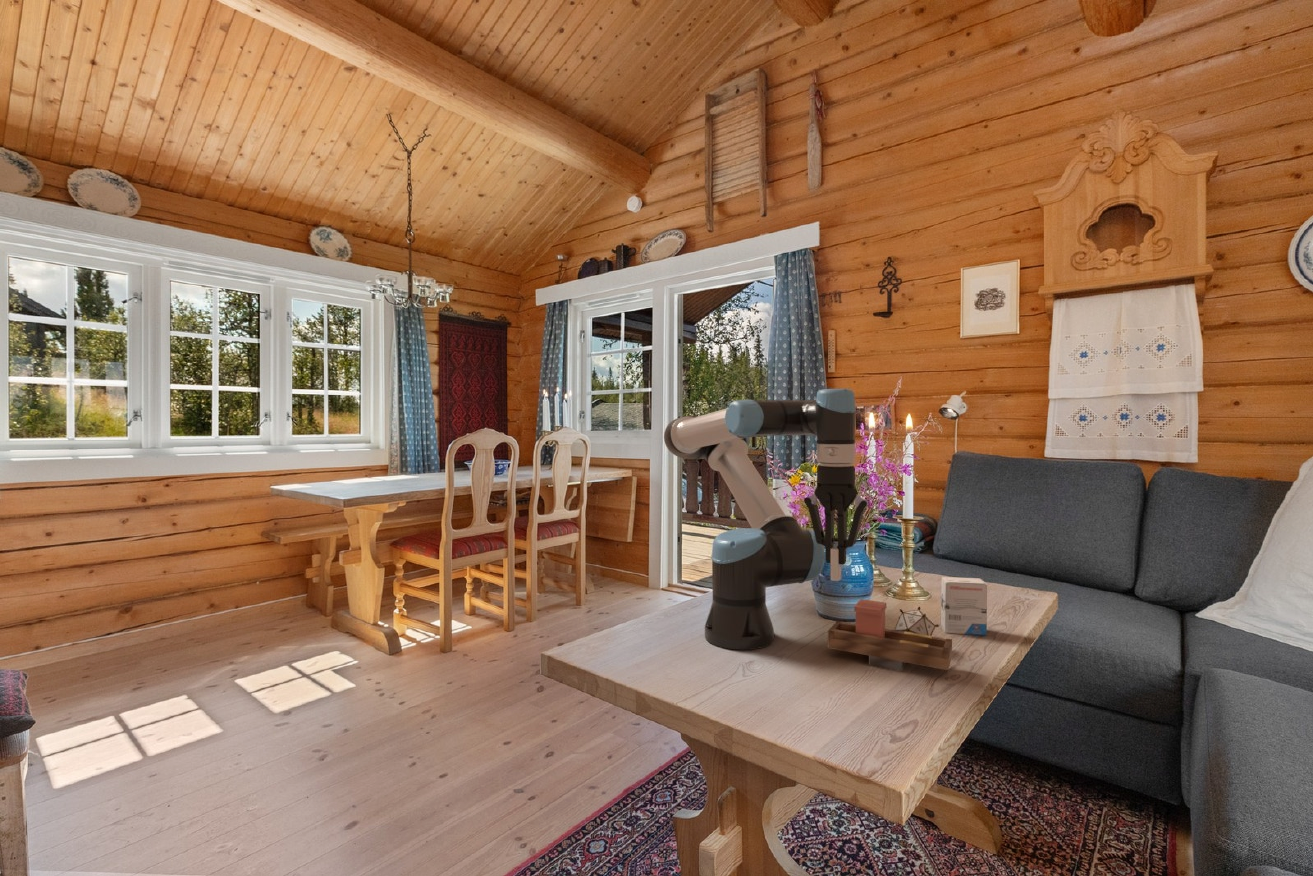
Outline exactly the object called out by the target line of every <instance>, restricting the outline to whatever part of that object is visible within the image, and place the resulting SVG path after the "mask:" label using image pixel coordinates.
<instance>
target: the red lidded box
mask: <svg viewBox="0 0 1313 876" xmlns="http://www.w3.org/2000/svg"><path fill="white" fill-rule="evenodd" d="M886 609H887V602H884V601H877V600H870V599H863V598H860V599H859V600H858V601H857V602H856V604H855V605H853V611H854V612H855V624H856V633H860V634H866V635H872V636H878V637H884V638H885V629H886Z"/></svg>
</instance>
